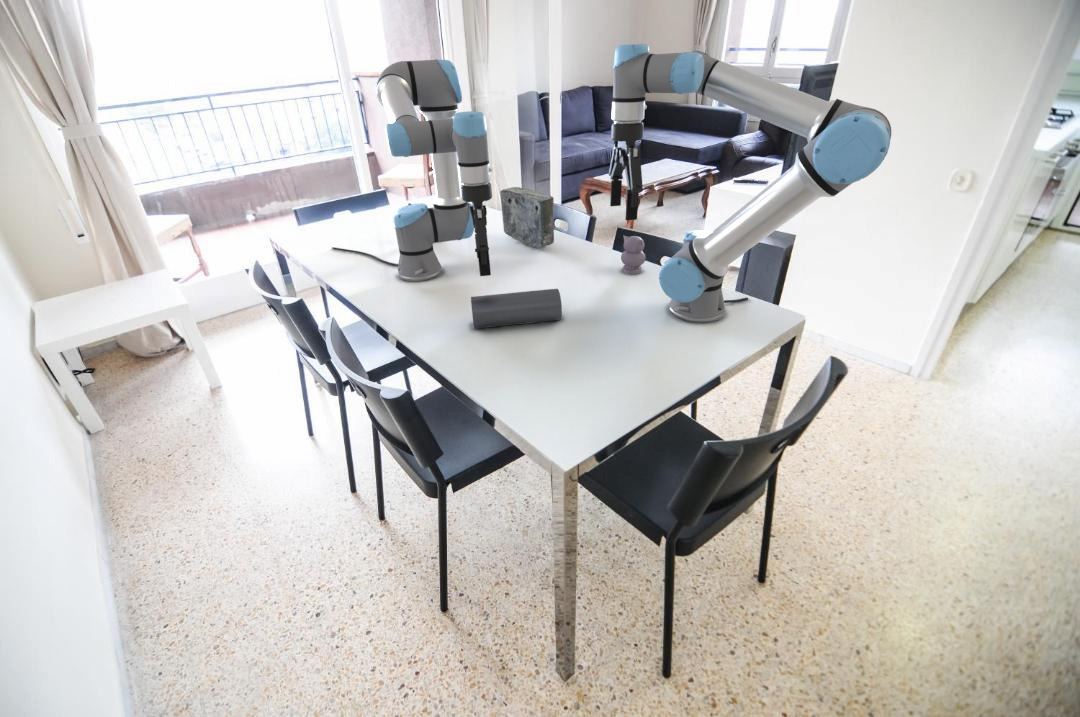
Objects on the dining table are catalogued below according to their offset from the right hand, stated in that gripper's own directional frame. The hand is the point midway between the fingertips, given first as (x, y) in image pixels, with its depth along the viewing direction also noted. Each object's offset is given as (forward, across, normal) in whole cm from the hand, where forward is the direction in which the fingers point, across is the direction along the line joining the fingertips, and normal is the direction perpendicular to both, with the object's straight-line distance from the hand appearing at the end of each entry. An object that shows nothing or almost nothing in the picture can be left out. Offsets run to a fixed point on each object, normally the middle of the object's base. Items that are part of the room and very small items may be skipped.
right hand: (622, 212), depth 128 cm
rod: (+30, +2, +29) cm, 41 cm away
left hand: (+12, +2, +37) cm, 39 cm away
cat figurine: (+30, +32, -15) cm, 46 cm away
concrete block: (+30, +69, +16) cm, 77 cm away
